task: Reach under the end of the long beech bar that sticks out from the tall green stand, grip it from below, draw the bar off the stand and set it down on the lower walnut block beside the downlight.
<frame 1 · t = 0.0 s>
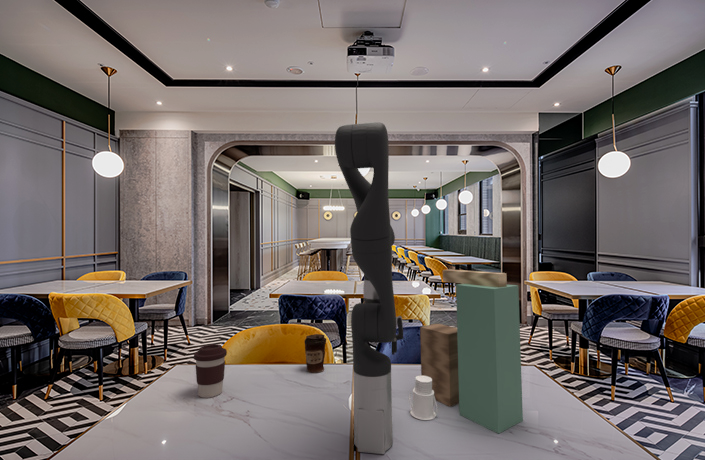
hand: (378, 353, 98), 17 cm above the table, tool pointing down, fingers open, 8 cm apart
green stand: (490, 417, 95), on the table
coffee cup: (315, 371, 132), on the table
coffee cup 2: (210, 394, 113), on the table
walnut block: (444, 396, 108), on the table
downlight: (423, 415, 97), on the table
beech bar: (472, 283, 100), point 36 cm above the table, touching green stand
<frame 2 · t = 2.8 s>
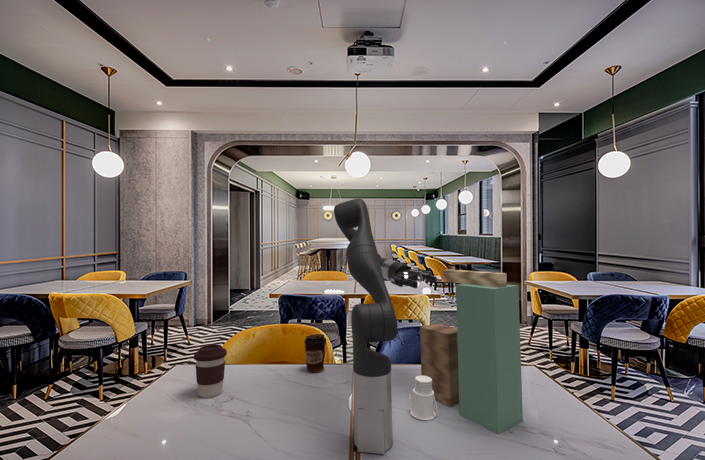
hand: (426, 282, 113), 35 cm above the table, tool horizontal, fingers open, 8 cm apart
nothing on the table moved.
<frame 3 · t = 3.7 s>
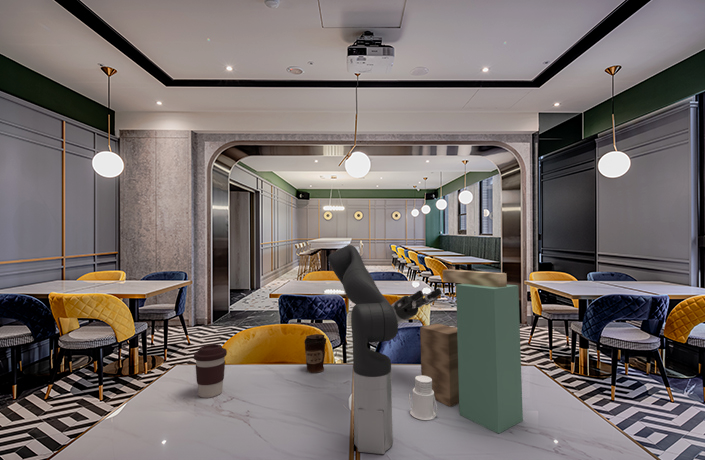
hand: (431, 292, 113), 32 cm above the table, tool pointing upward, fingers open, 8 cm apart
nothing on the table moved.
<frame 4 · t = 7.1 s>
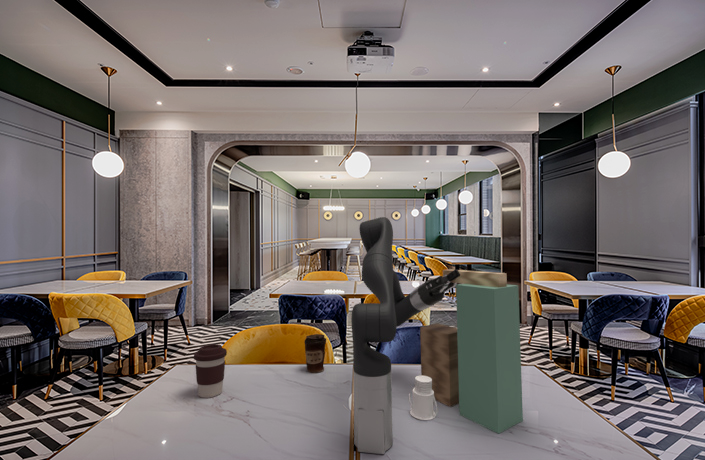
hand: (462, 272, 103), 39 cm above the table, tool pointing upward, fingers closed on beech bar, 3 cm apart
beech bar: (472, 283, 100), point 36 cm above the table, touching green stand, gripper
everything else where it was.
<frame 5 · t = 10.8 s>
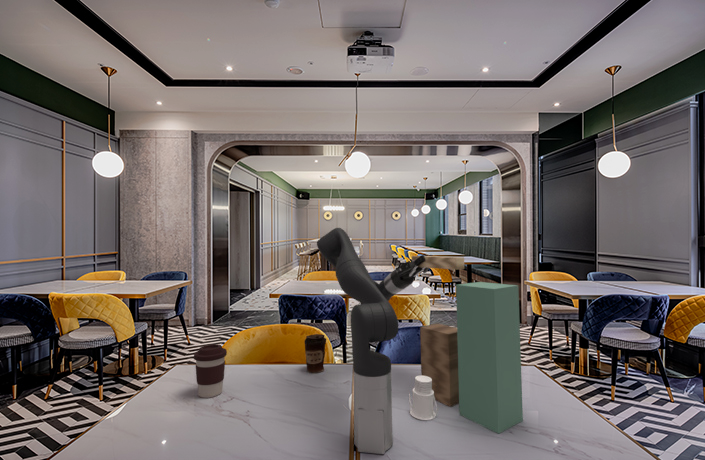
hand: (428, 257, 115), 43 cm above the table, tool pointing upward, fingers closed on beech bar, 3 cm apart
beech bar: (436, 267, 112), point 40 cm above the table, touching gripper
everything else where it was.
when the fingers open (26 cm above the table, at t = 14.6 s): beech bar drops 2 cm, resting on walnut block.
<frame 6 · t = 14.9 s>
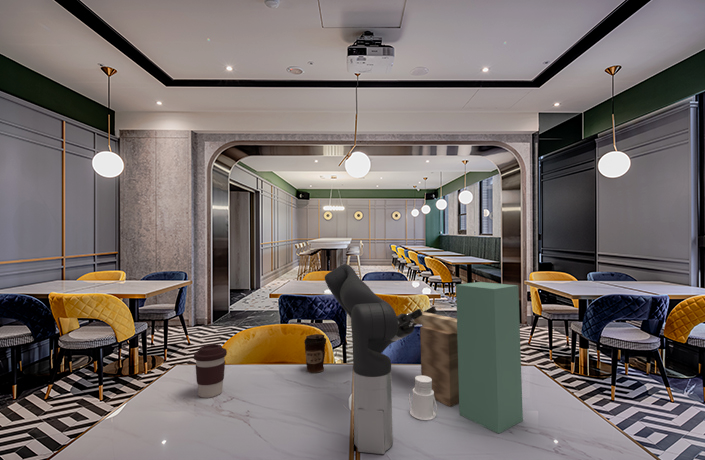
hand: (427, 310, 114), 26 cm above the table, tool pointing upward, fingers open, 6 cm apart
beech bar: (436, 326, 111), point 21 cm above the table, touching walnut block
everything else where it was.
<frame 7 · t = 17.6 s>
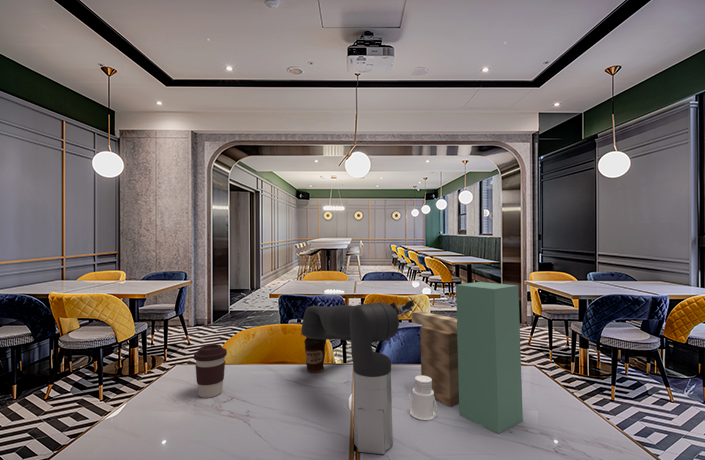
hand: (404, 303, 124), 26 cm above the table, tool pointing upward, fingers open, 8 cm apart
nothing on the table moved.
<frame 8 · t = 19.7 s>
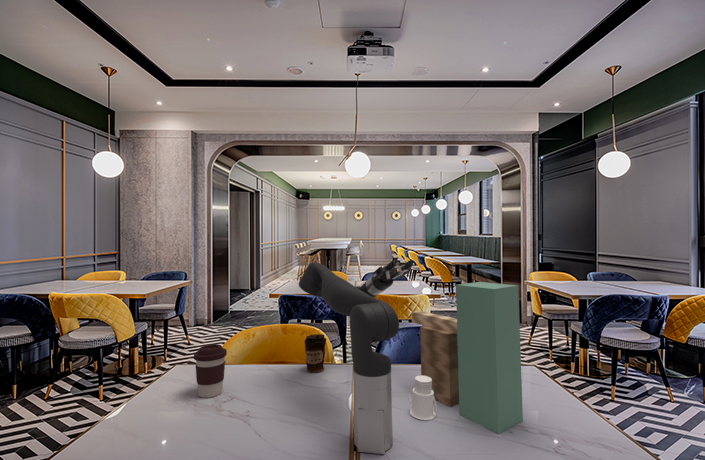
hand: (403, 262, 124), 41 cm above the table, tool pointing upward, fingers open, 8 cm apart
nothing on the table moved.
at the end: beech bar inside the target area (0.4 cm from its centre), point 21.0 cm above the table; beech bar 15.0 cm from the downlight (horizontally); the gripper is holding nothing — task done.
